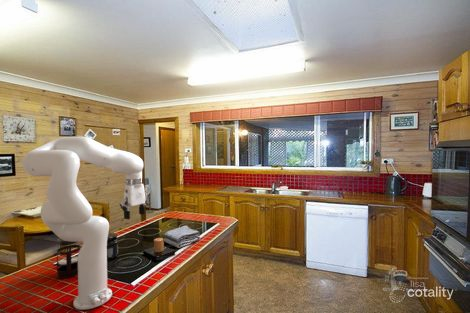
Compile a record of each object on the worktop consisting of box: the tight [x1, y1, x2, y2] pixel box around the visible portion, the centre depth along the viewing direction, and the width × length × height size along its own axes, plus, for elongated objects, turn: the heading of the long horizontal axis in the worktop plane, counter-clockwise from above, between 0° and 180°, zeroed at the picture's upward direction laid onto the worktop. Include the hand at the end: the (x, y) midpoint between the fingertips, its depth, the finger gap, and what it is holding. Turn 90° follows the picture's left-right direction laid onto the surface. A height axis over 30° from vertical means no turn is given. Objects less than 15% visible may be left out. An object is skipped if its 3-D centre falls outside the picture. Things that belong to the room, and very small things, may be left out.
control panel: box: [142, 245, 176, 263], centre depth 131 cm, size 14×11×3 cm
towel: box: [163, 225, 201, 249], centre depth 150 cm, size 15×18×8 cm
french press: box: [56, 237, 83, 280], centre depth 111 cm, size 12×9×23 cm
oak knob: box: [153, 237, 165, 252], centre depth 131 cm, size 5×5×6 cm
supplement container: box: [107, 232, 119, 262], centre depth 128 cm, size 10×10×12 cm
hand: (134, 216), depth 119 cm, fingers open, 9 cm apart
